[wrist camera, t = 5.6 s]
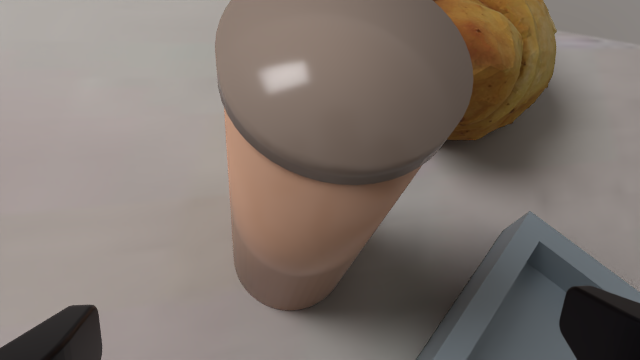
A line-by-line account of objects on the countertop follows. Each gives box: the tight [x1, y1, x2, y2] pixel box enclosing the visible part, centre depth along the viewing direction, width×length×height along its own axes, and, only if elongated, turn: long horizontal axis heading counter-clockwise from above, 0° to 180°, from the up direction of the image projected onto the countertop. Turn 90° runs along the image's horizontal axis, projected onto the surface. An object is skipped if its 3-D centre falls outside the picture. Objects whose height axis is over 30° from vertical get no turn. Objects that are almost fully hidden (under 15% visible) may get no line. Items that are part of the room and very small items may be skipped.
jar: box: [215, 0, 473, 310], centre depth 15 cm, size 5×5×13 cm
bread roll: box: [433, 0, 557, 140], centre depth 24 cm, size 13×10×8 cm
